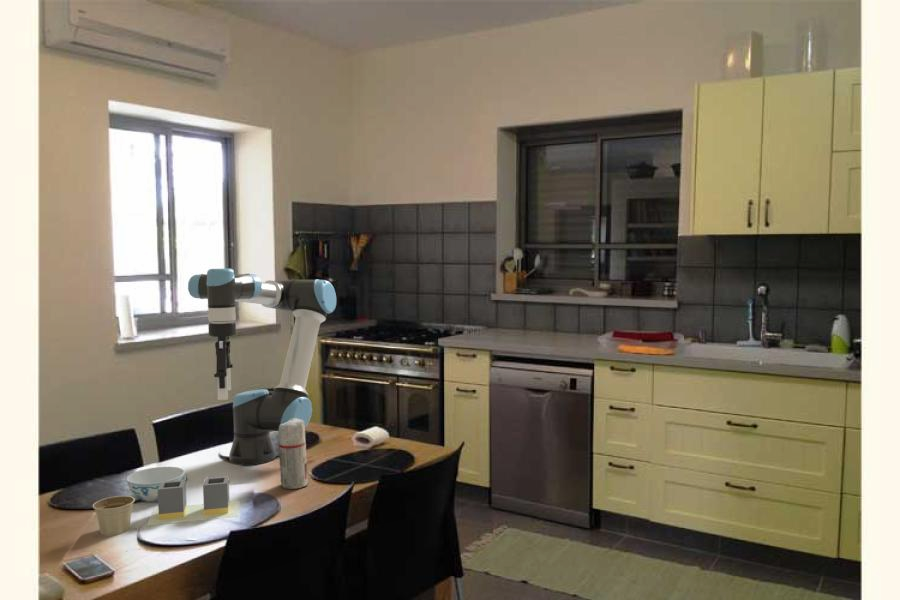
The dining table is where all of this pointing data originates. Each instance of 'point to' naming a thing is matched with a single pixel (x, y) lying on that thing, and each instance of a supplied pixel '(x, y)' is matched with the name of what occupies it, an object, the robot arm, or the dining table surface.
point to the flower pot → (114, 514)
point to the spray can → (293, 454)
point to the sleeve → (216, 495)
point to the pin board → (194, 514)
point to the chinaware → (152, 481)
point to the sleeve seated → (172, 499)
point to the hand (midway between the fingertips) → (224, 394)
